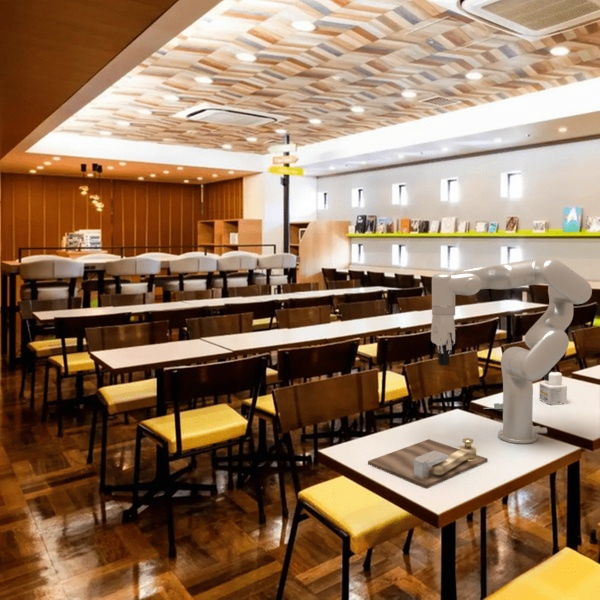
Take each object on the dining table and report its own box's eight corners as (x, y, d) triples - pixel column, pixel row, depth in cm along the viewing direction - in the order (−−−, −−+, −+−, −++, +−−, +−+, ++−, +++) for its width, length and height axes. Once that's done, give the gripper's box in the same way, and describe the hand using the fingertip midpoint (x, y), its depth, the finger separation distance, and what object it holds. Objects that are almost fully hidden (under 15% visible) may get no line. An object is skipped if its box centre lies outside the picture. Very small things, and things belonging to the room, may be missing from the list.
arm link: (464, 451, 176) (464, 443, 176) (479, 454, 173) (479, 447, 173) (427, 472, 161) (427, 464, 160) (442, 477, 157) (442, 469, 157)
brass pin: (475, 453, 176) (475, 436, 175) (481, 461, 170) (481, 443, 169) (455, 454, 176) (455, 436, 176) (460, 461, 170) (460, 443, 169)
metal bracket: (533, 402, 214) (495, 403, 214) (534, 417, 213) (496, 419, 212) (517, 402, 228) (481, 403, 228) (519, 416, 227) (483, 418, 227)
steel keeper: (424, 481, 157) (424, 463, 156) (411, 475, 161) (411, 458, 160) (448, 471, 163) (448, 454, 162) (434, 466, 167) (434, 449, 166)
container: (539, 400, 236) (539, 370, 234) (556, 399, 237) (556, 369, 235) (549, 405, 228) (549, 374, 227) (566, 404, 229) (567, 373, 228)
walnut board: (428, 441, 190) (428, 439, 190) (487, 461, 172) (487, 458, 172) (368, 464, 173) (367, 460, 173) (426, 488, 154) (426, 485, 154)
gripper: (424, 308, 191) (425, 361, 193) (441, 313, 177) (441, 370, 178) (445, 307, 192) (445, 359, 194) (463, 312, 178) (463, 369, 179)
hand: (443, 364), depth 186 cm, fingers closed
